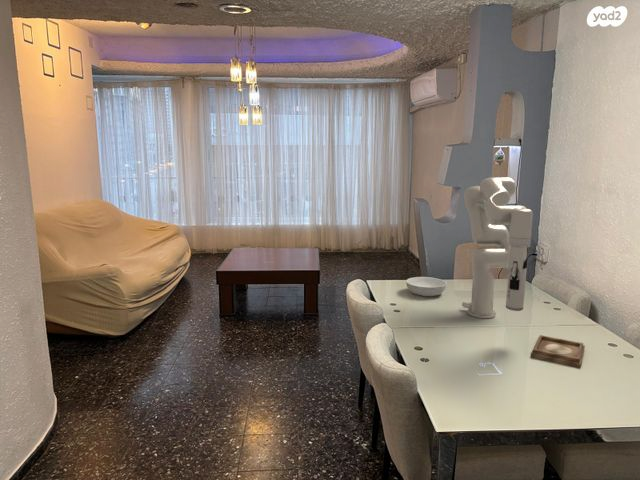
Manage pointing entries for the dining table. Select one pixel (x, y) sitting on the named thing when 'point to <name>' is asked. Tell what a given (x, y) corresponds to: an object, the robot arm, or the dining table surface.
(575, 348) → the wooden tray
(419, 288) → the serving bowl
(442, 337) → the dining table surface
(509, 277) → the travel mug
